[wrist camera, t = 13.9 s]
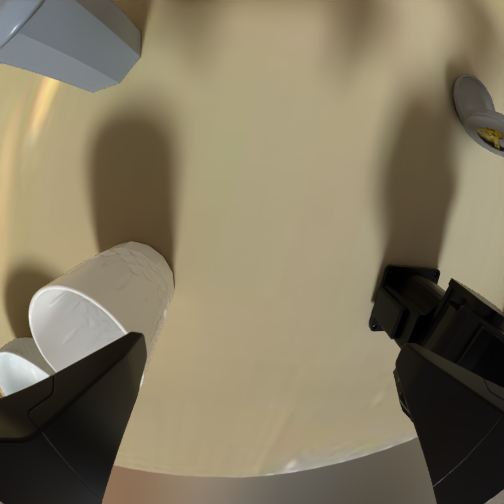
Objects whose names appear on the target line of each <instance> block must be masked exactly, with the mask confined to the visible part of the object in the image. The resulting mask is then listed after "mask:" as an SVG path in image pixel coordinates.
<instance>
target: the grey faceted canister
mask: <svg viewBox="0 0 504 504" xmlns="http://www.w3.org/2000/svg"><path fill="white" fill-rule="evenodd" d="M140 57H141V32H140V31H139V30H138V29H137V27H136V26H135V25H134V24H133V23H132V22H131V21H130V20H129V18H128V17H127V16H126V15H125V14H124V13H123V12H122V11H121V10H120V9H119V7H118V6H117V5H116V4H115V3H114V2H113V1H112V0H0V63H3V64H7V65H10V66H14V67H18V68H21V69H25V70H28V71H31V72H34V73H38V74H41V75H44V76H47V77H50V78H53V79H56V80H59V81H62V82H65V83H67V84H70V85H73V86H76V87H78V88H81V89H84V90H86V91H89V92H92V93H93V92H96V91H99V90H101V89H104V88H107V87H110V86H112V85H115V84H118V83H120V82H121V81H122V79H123V78H124V77H125V76H126V74H127V73H128V72H129V71H130V69H131V68H132V67H133V66H134V64H135V63H136V62H137V61H138V60H139V59H140Z"/></svg>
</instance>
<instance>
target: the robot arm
mask: <svg viewBox="0 0 504 504" xmlns="http://www.w3.org/2000/svg"><path fill="white" fill-rule="evenodd" d="M391 269H392V272H390V273H389V271H390V270H391ZM435 273H436V274H435ZM439 276H440V271H439V270H438V269H436V268H428V267H416V266H403V265H388V266H387V267H386V269H385V272H384V276H383V280H382V284H381V287H380V289H379V291H378V295H377V298H376V302H375V305H374V308H373V312H372V318H371V321H370V324H369V328H370V329H371V331H385V332H386V333H387V334H388V336H389V337H390V339H394V340H395V342H396V343H397V344H398V346H399V347H400V348H401V351H400V353H399V355H398V358H397V360H396V368H395V370H394V371H393V374H394V378H395V382H396V387H397V392H398V396H399V401H400V405H401V408H402V410H403V412H404V413H405V414H406V415H407V416H408V417H409V418H410V419H411V421H412V422H413V423H414V426H415V429H416V432H417V435H418V438H419V441H420V444H421V447H422V450H423V454H424V457H425V460H426V464H427V467H428V471H429V474H430V478H431V482H432V485H433V489H434V494H435V498H436V502H437V504H504V313H503V312H502V311H501V310H500V309H498V308H497V307H496V306H495V305H494V304H492V303H491V302H490V301H488V300H487V299H485V298H484V297H482V296H481V295H480V294H478V293H476V292H475V291H473V290H471V289H470V288H468V287H466V286H465V285H463V284H461V283H459V282H458V281H456V280H454V279H453V278H451V280H450V282H449V284H448V285H449V286H448V288H447V290H446V291H445V290H443V289H442V288H441V287H439V286H438V285H437V283H438V279H439ZM374 325H375V326H374ZM373 326H374V327H373ZM146 360H147V349H146V342H145V336H144V334H143V333H139V332H133V331H132V332H130V333H128V334H126V335H124V336H122V337H121V338H119V339H117V340H115V341H113V342H111V343H110V344H108V345H106V346H104V347H102V348H101V349H99V350H97V351H95V352H93V353H91V354H90V355H88V356H86V357H84V358H82V359H80V360H79V361H77V362H75V363H73V364H71V365H69V366H68V367H66V368H64V369H62V370H60V371H58V372H57V373H55V374H54V375H51V376H49V377H47V378H45V379H43V380H41V381H39V382H37V383H35V384H33V385H31V386H29V387H27V388H24V389H22V390H20V391H17V392H15V393H12V394H10V395H7V396H5V397H3V398H0V504H102V499H103V497H104V493H105V490H106V486H107V483H108V480H109V477H110V474H111V470H112V467H113V464H114V461H115V458H116V455H117V452H118V449H119V446H120V443H121V440H122V438H123V435H124V432H125V429H126V426H127V423H128V421H129V418H130V415H131V412H132V410H133V407H134V404H135V402H136V399H137V396H138V392H139V388H140V384H141V380H142V376H143V372H144V368H145V364H146Z"/></svg>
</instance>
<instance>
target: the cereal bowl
mask: <svg viewBox="0 0 504 504" xmlns="http://www.w3.org/2000/svg"><path fill="white" fill-rule="evenodd" d="M55 373H56V372H55V371H54V370H53V368H52V367H51V366H50V365H49V364H48V363H47V361H46V360H45V359H44V357H43V356H42V354H41V352H40V351H39V349H38V347H37V345H36V343H35V341H34V338H28V337H26V338H23V337H22V338H17V339H14V340H12V341H10V342H8V343H7V344H5V345H4V346H3V347H2V348H1V349H0V387H1V389H2V391H3V392H4V394H5V396H7V395H10V394H12V393H15V392H17V391H20V390H22V389H24V388H27V387H29V386H31V385H33V384H35V383H37V382H39V381H41V380H43V379H45V378H47V377H49V376H51V375H54V374H55Z"/></svg>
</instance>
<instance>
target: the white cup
mask: <svg viewBox="0 0 504 504" xmlns="http://www.w3.org/2000/svg"><path fill="white" fill-rule="evenodd" d="M173 293H174V281H173V273H172V271H171V269H170V267H169V266H168V264H167V262H166V260H165V259H164V257H163V256H162V255H161V254H159V253H158V252H157V251H155V250H154V249H153V248H152V247H150V246H149V245H146V244H142V243H138V242H134V241H130V242H126V243H122V244H118V245H115V246H114V247H112V248H110V249H109V250H106V251H104V252H101V253H99V254H97V255H95V256H94V257H92V258H90V259H88V260H86V261H84V262H83V263H81V264H79V265H78V266H76V267H74V268H73V269H71V270H69V271H68V272H66V273H65V274H63V275H61V276H60V277H58V278H57V279H55V280H53V281H52V282H50V283H49V284H47V285H45V286H44V287H42V288H41V289H39V290H38V291H37V292H36V293H35V294H34V296H33V298H32V300H31V302H30V306H29V324H30V329H31V333H32V336H33V338H34V341H35V343H36V345H37V347H38V349H39V351H40V352H41V354H42V356H43V357H44V359H45V360H46V361H47V363H48V364H49V365H50V366H51V367H52V368H53V370H54V371H55V372H56V373H57V372H58V371H60V370H62V369H64V368H66V367H68V366H69V365H71V364H73V363H75V362H77V361H79V360H80V359H82V358H84V357H86V356H88V355H90V354H91V353H93V352H95V351H97V350H99V349H101V348H102V347H104V346H106V345H108V344H110V343H111V342H113V341H115V340H117V339H119V338H121V337H122V336H124V335H126V334H128V333H130V332H132V331H133V332H139V333H143V334H144V336H145V342H146V349H147V360H146V364H145V368H144V372H143V376H142V380H141V384H140V387H141V385H142V382H143V379H144V376H145V373H146V370H147V368H148V365H149V362H150V359H151V356H152V354H153V351H154V348H155V345H156V343H157V340H158V337H159V334H160V332H161V329H162V327H163V324H164V320H165V318H166V315H167V308H168V305H169V303H170V300H171V298H172V295H173Z"/></svg>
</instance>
